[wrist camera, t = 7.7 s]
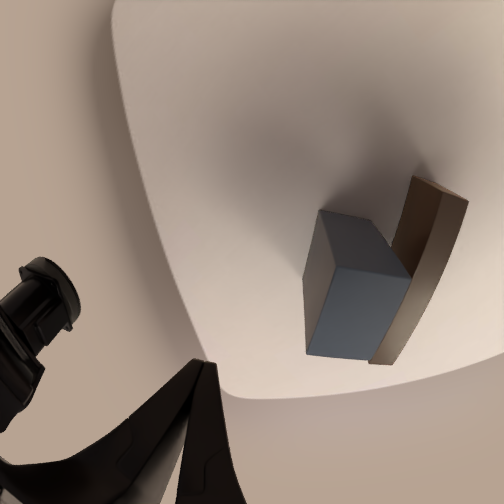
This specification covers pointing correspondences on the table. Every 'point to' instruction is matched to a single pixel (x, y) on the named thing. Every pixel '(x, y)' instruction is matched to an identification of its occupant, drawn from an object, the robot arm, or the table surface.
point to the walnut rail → (421, 256)
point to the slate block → (350, 288)
